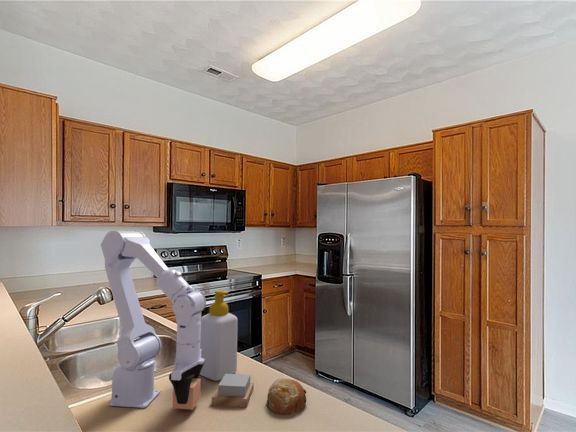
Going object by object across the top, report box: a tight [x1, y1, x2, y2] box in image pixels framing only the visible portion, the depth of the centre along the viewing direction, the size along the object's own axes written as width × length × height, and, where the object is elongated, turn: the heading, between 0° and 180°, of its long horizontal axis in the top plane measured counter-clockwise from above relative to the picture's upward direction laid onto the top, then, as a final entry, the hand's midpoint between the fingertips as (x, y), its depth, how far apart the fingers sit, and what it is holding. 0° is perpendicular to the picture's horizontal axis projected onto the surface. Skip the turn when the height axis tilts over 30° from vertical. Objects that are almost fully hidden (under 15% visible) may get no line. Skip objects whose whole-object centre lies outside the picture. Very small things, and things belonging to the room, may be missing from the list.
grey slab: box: [217, 373, 251, 397], centre depth 87 cm, size 7×7×2 cm
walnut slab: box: [211, 382, 255, 408], centre depth 87 cm, size 9×9×2 cm
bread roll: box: [265, 378, 307, 415], centre depth 84 cm, size 10×10×8 cm
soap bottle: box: [199, 289, 239, 382], centre depth 101 cm, size 9×9×25 cm
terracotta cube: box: [171, 378, 202, 411], centre depth 81 cm, size 5×5×5 cm
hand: (186, 397), depth 81 cm, fingers closed on terracotta cube, 5 cm apart
